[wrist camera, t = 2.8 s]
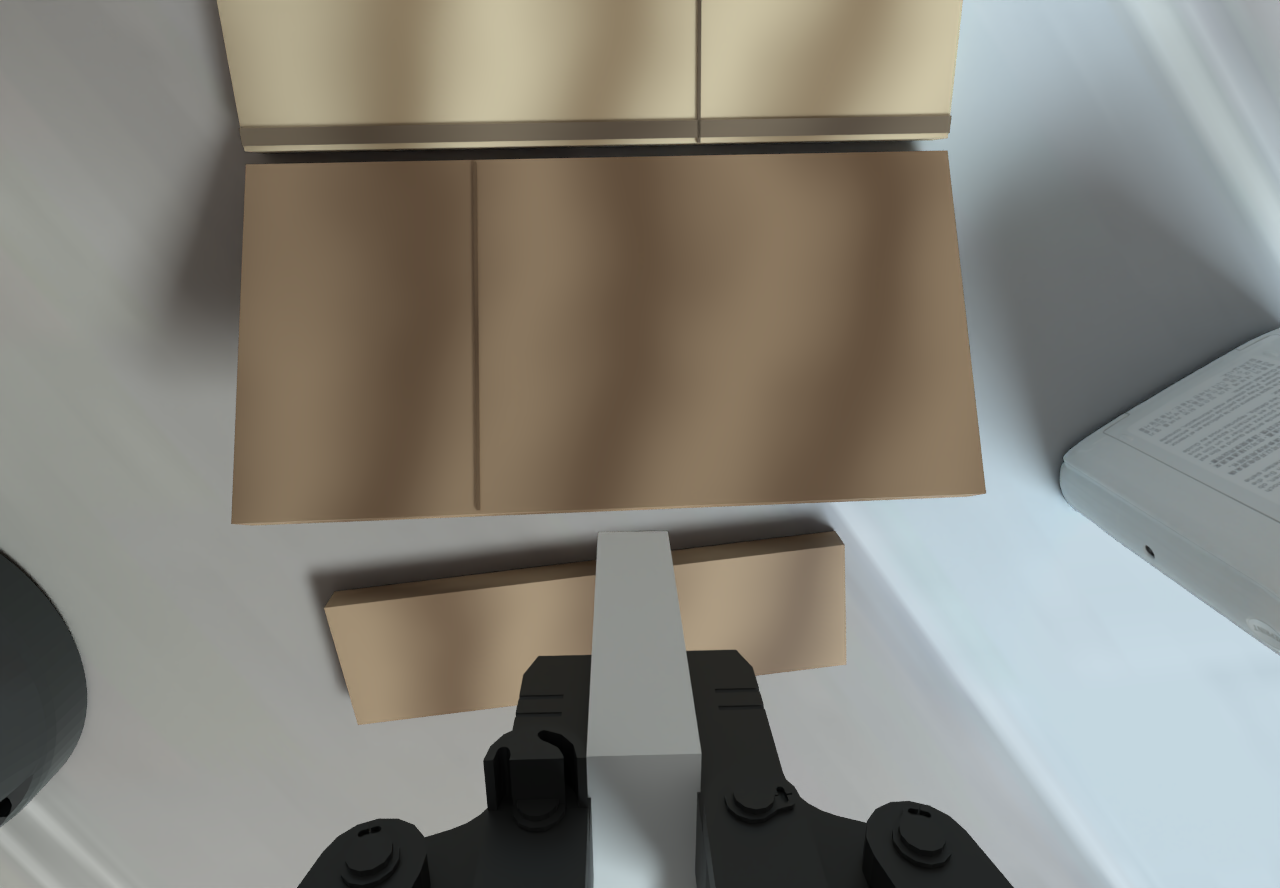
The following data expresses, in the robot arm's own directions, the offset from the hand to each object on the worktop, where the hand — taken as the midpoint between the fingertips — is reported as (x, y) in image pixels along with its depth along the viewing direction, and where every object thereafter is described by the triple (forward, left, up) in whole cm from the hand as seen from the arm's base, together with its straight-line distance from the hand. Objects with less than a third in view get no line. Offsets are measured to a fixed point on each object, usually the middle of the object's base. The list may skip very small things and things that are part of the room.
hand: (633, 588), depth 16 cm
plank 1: (0, +4, -9) cm, 10 cm away
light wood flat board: (0, +14, -12) cm, 18 cm away
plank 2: (-1, -8, -12) cm, 15 cm away
